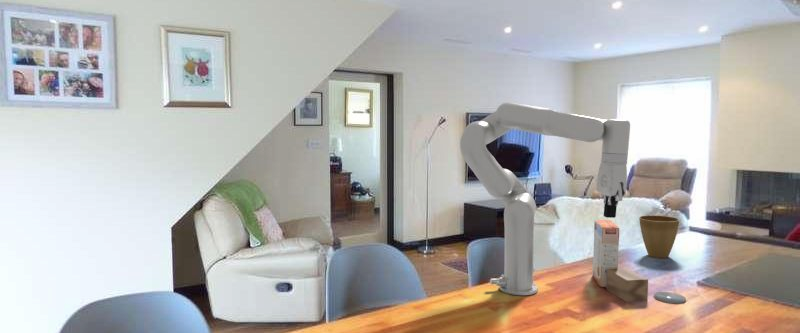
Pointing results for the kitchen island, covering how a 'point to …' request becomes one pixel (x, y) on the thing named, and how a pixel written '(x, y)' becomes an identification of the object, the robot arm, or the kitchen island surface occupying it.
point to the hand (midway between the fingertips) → (609, 216)
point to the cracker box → (605, 250)
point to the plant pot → (658, 234)
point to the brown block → (627, 284)
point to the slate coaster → (669, 297)
